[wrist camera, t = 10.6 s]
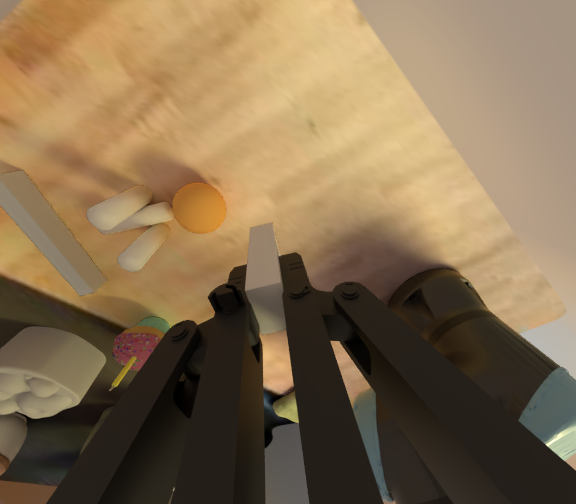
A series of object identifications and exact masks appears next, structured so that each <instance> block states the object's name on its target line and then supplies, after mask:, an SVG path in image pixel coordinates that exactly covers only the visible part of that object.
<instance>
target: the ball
mask: <svg viewBox="0 0 576 504" xmlns="http://www.w3.org/2000/svg"><path fill="white" fill-rule="evenodd" d="M172 208H173V213H174V216H175V218H176V220H177V221H178V223H179V224H180V225H181V226H182V227H183V228H185V229H186V230H188V231H190V232H193V233H199V234H204V233H209V232H212V231H214V230H215V229H217V228H218V227H219V226H220V225H221V224H222V223H223V221H224V219H225V216H226V204H225V201H224V198H223V197H222V195H221V194H220V193H219V191H217V190H216V189H215V188H214V187H212V186H210V185H208V184H205V183H190V184H187V185H185V186H183V187H182V188H181V189H180V190H179V191H178V192H177V193H176V195H175V197H174V199H173V205H172Z"/></svg>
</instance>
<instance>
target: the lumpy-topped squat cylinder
mask: <svg viewBox="0 0 576 504" xmlns="http://www.w3.org/2000/svg"><path fill="white" fill-rule="evenodd" d="M105 363H106V357H105V356H104V354H103V353H102V352H101V351H99V350H98V349H97V348H95V347H94V346H93V345H91V344H90V343H88V342H87V341H85V340H84V339H82V338H80V337H79V336H77V335H75V334H73V333H70V332H66V331H63V330H59V329H55V328H50V327H40V326H34V327H27V328H25V329H23V330H22V331H20V332H19V333H18V334H17V335H16V336H15V337H13V338H12V339H11V340H10V341H9V342H8V343H6V344H5V345H4V346H3V347H2V348H1V349H0V415H6V414H10V413H13V412H15V411H17V412H19V413H22V414H25V415H26V416H28V417H30V418H34V419H38V418H42V417H50V416H53V415H55V414H57V413H58V412H60V411H62V410H64V409H67V408H71V407H74V406H76V405H78V404H79V403H80V401H81V400H82V398H83V397H84V395H85V394H86V392H87V391H88V389H89V388H90V386H91V384H92V383H93V381H94V380H95V378H96V377H97V375H98V374H99V372H100V371H101V369H102V368H103V366H104V364H105Z"/></svg>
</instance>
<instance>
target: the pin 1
mask: <svg viewBox="0 0 576 504" xmlns="http://www.w3.org/2000/svg"><path fill="white" fill-rule="evenodd" d="M151 201H152V193H151V191H150V190H149V189H148V188H147V187H145V186H142V185H136V186H134V187H132V188H130V189H128V190H126V191H124V192H121V193H119V194H117V195H115V196H113V197H111V198H109V199H107V200H105V201H103V202H100V203H98V204H96V205H94V206H92V207H90V208H89V209H88V210H87V218H88V220H89V222H90V223H91V224H92V225H93V226H95V227H96V228H98V229H102V230H110V229H112V228H114V227H115V226H116V225H118V224H119V223H121V222H122V221H124V220H125V219H127V218H128V217H129V216H131V215H132V214H134V213H135V212H137V211H138V210H140V209H141V208H142V207H144V206H145V205H147V204H148V203H150V202H151Z"/></svg>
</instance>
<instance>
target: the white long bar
mask: <svg viewBox="0 0 576 504" xmlns="http://www.w3.org/2000/svg"><path fill="white" fill-rule="evenodd" d="M0 206H1V207H2V208H3V209H4V210H5V211H6V212H7V214H8V215H9V216H10V217H11V218H12V219H13V220H14V222H15V223H16V224H17V225H18V226H19V227H20V228H21V230H22V231H23V232H24V233H25V234H26V235H27V236H28V237H29V239H30V240H31V241H32V242H33V243H34V244H35V245H36V247H37V248H38V249H39V250H40V251H41V252H42V253H43V254H44V256H45V257H46V258H47V259H48V260H49V261H50V262H51V264H52V265H53V266H54V267H55V268H56V269H57V270H58V272H59V273H60V274H61V275H62V276H63V277H64V278H65V279H66V281H67V282H68V283H69V284H70V285H71V286H72V287H73V289H74V290H75V291H76V292H77V293H78V294H79V295H80V296H83V295H87V294H91V293H95V292H96V291H97V290H98V289H99V288H100V287H101V286H102V285H103V284H104V283H105V282H106V281H107V279H106V278H105V277H104V275H103V274H102V273H101V271H100V270H99V269H98V267H97V266H96V265H95V264H94V262H93V261H92V260H91V258H90V257H89V256H88V254H87V253H86V252H85V250H84V249H83V248H82V246H81V245H80V244H79V243H78V241H77V240H76V239H75V237H74V236H73V235H72V233H71V232H70V231H69V229H68V228H67V227H66V226H65V224H64V223H63V222H62V220H61V219H60V218H59V216H58V215H57V214H56V212H55V211H54V210H53V209H52V207H51V206H50V205H49V203H48V202H47V201H46V199H45V198H44V197H43V195H42V194H41V193H40V192H39V190H38V189H37V188H36V186H35V185H34V184H33V182H32V181H31V180H30V178H29V177H28V176H27V175H26V173H25V172H24V171H23V170H21V171H15V172H10V173H4V174H0Z"/></svg>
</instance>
